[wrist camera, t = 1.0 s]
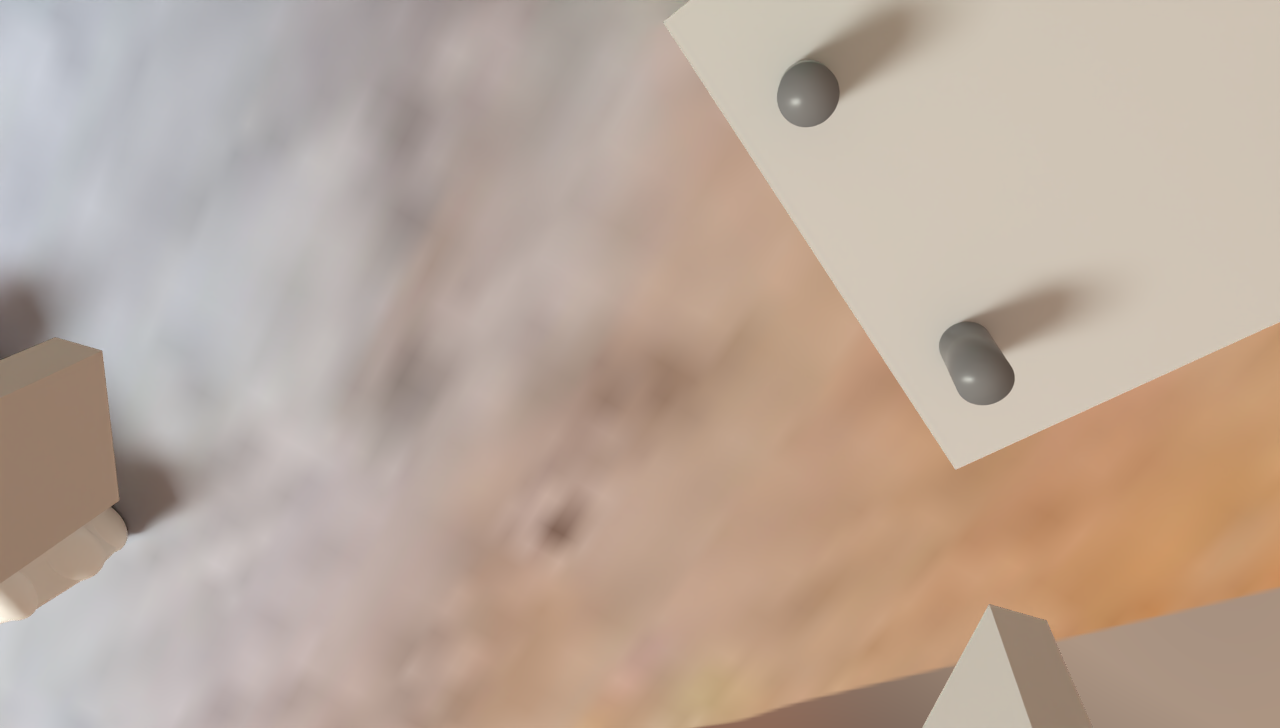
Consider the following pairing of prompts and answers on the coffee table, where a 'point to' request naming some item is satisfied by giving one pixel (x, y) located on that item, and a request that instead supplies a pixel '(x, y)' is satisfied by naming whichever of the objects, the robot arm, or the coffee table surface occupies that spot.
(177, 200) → the coffee table surface
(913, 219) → the stub plate
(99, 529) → the dog bone
